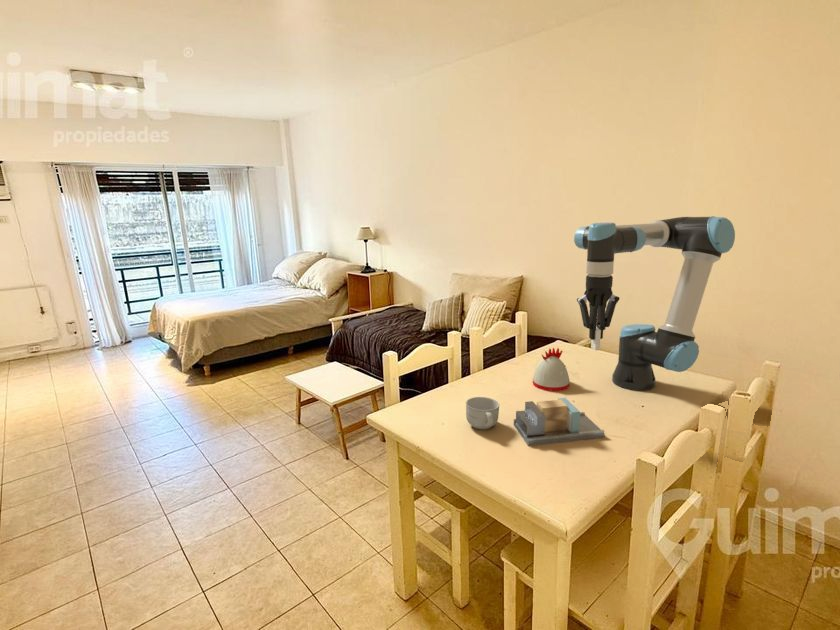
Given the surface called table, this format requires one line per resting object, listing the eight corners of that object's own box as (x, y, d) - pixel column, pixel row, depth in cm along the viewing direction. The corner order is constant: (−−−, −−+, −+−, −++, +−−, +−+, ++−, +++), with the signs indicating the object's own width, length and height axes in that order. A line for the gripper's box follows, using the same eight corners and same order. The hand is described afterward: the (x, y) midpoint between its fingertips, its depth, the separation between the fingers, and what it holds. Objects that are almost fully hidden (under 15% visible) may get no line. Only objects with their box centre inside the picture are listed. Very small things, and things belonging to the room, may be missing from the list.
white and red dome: (575, 389, 166) (577, 352, 163) (541, 393, 165) (542, 355, 161) (559, 376, 180) (560, 341, 176) (527, 379, 178) (528, 344, 174)
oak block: (560, 422, 139) (561, 399, 137) (566, 429, 135) (567, 405, 133) (536, 425, 138) (536, 401, 136) (541, 432, 134) (542, 408, 132)
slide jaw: (564, 417, 142) (565, 397, 140) (579, 432, 132) (580, 411, 130) (556, 418, 142) (557, 398, 140) (570, 433, 132) (571, 412, 130)
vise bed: (583, 417, 144) (583, 411, 144) (604, 437, 132) (604, 431, 131) (513, 424, 142) (513, 418, 141) (527, 445, 129) (528, 439, 129)
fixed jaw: (532, 420, 141) (533, 401, 139) (545, 436, 131) (545, 415, 129) (515, 422, 140) (516, 402, 138) (527, 438, 130) (527, 417, 129)
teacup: (465, 417, 148) (464, 395, 146) (497, 416, 148) (497, 395, 146) (468, 438, 135) (467, 415, 133) (503, 438, 134) (503, 414, 132)
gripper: (612, 271, 136) (608, 343, 142) (573, 274, 134) (570, 346, 140) (626, 275, 129) (621, 350, 134) (585, 278, 127) (581, 354, 133)
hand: (595, 348), depth 137 cm, fingers closed
